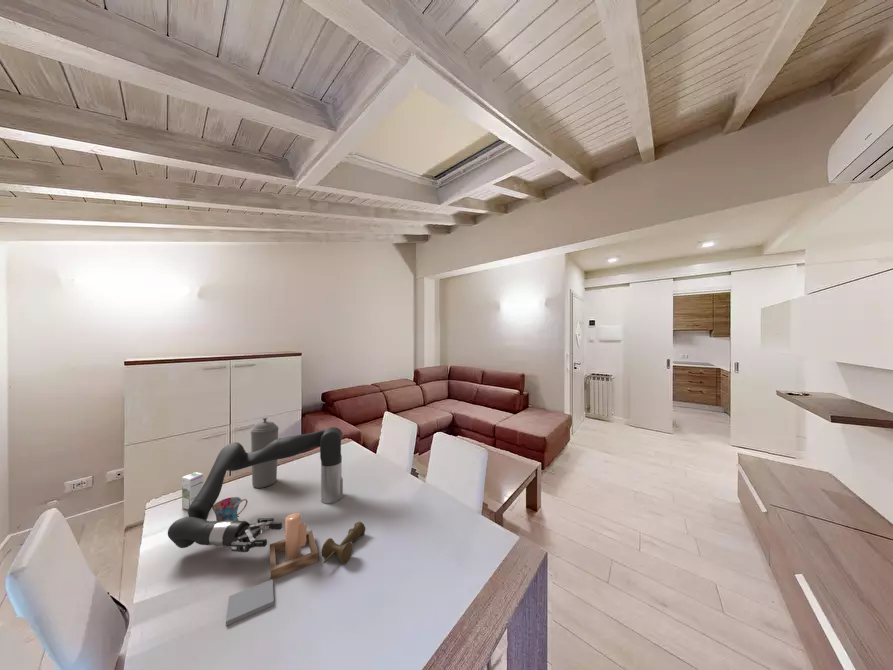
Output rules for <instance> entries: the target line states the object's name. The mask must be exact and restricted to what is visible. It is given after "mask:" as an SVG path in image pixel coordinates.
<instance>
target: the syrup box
mask: <svg viewBox="0 0 893 670" xmlns="http://www.w3.org/2000/svg"><path fill="white" fill-rule="evenodd" d="M203 485H204V473H202V472H196V471H193V472H192V473H189V474H186V475H184V476H182V477H181V504H182V505H181V507H182V509H183V510H187V511H188V508H189V506H190V505H191V503H192V502H193V500H194V499H195V497H196V496H197V494H198V493H199V492H200V490H201V488H202V487H203Z"/></svg>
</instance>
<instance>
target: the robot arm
mask: <svg viewBox="0 0 893 670" xmlns="http://www.w3.org/2000/svg"><path fill="white" fill-rule="evenodd" d="M342 440H343V431H342V430H341V428H338V427H336V426H333V427H332V426H331V427H327V428H324V429H321V430H318V431H315V432H314V431H313V432H310V433H304V434H303V433H302V434H296V435H292V436H287V437H286V436H285V437H280V438H278V439H276V440H274V441H272V442H271V443H270V444H268V445H267V446H266V447H264V448H263V449H261V450H259V451H255V452H246V450H245V449H244V445H242V444H241V443H240V442H231V443H229V444H227V445H225V446H224V447H223V448H222V449H220V451H219V453H218V455H217V457H216V459H215V461H214V463H213V465H212V467H211V470H210V471H209V474H208V475H207V478H206V480H204V482H203V487H202V488H201V490H200V492H199V493H198V494H197V496H196V497H195V499H194V500H193V502H192V503H191V505H190V506H189V508H188V510H187V514H188V516H184V517H181V518H179V519H177V520H175V521H174V522H173V523H172V524H170V526H169V527H168V529H167V536H168V538H169V540H171V541H172V543H174V545H175V546H177V548H180V549H185V548H188V547H191V546H192V545H193V544H194V543H196V544H198V545H200V546H201V545H202V546H216V547H230V549H231V550H230V551H231V552H234V553H248V552H250V549H254V548H265V547H266V546H267V545H268V539H267V538H257V537H258V536H260V535H263V534H265V533H266V532H267V531H269V530H272V531H273V530H275V531H277V530H282V528H283V523H282V522H279V521H277V522H275V518H274V517H259V518H257V519H256V520H257V522H255V523H253V524H251V523H250V522H249V521H247V520H239V521H216V520H214V521H213V520H208V518H209V513H210V511H211V510H212V507H213V505H214V504H215V503H217V500H218V499H219V497H220V494H221V490H222V487H223V484H224V480H225V477H226V474H227V471H228V472H235V471H240V470H242V469H246V468H250V467H252V466H253V465H256V464H260V463H264V462H268V461H272V460H277V461H278V460H283V459H287V458H291V457H294V456H297V455H299V454H301V453H305V452H306V451H309V450H312V449H314V448H319V453H320V454H319V457H320V464H321V466H320V467H321V468H320V472H321V473H320V497H321V498H320V501H321V503H323V504H333V503H337V502H339V501H340V500H341V499H343V498H344V497H343V496H344V495H343V494H344V492H343V491H344V487H343V485H344V479H343V475H342V473H343V470H342V467H343V465H342V459H343V457H342ZM261 527H262V528H261Z"/></svg>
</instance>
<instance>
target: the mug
mask: <svg viewBox="0 0 893 670" xmlns="http://www.w3.org/2000/svg"><path fill="white" fill-rule="evenodd" d="M243 501H245V505H244V506H243V508H242V509H241V510H240V511H239V512H238V510H239V506H240V504H241V503H242V502H243ZM247 505H248V500H247V499H246V498H243V499H242V498H241V497H239V496H232V497H227V498H223V499H221V500H219V501H216V502H215V503H214V505H213V507H212V508H211V510H213V512H214V514H215V515H214V516H215V519H216V520H215V521H240V520H239V519H238V518H239V517H240V514H241V513H242V512H243V511H244V510H245V508H246V507H247Z"/></svg>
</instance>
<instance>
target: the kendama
mask: <svg viewBox="0 0 893 670" xmlns="http://www.w3.org/2000/svg"><path fill="white" fill-rule="evenodd" d="M365 533H366V526H365V524H364V523H363V522H361V521H356V522H355V523H354V526H353V528H350V529H349V530H348V531H347V535H346V536H345V538H344V539H343V540H342V541H341V542H340V544H338V543H336V542H335V540H333V538H327V539H326V540H325V542H324V543H323V545H322V548H321V557H322V558H325V560H324V561H323V564H325V563H327V562H328V561H329V560H330V559H332V557H334V556H335V557H336V558H338V559H339V561H340V562H341V564H342V565H346V563H348V561H349V560H350V559H351V557H352V555H353V548H354V547H353V543H352V541H353V542H355V541H358V540H359V539H358V538H359V536H363V535H365Z"/></svg>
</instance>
